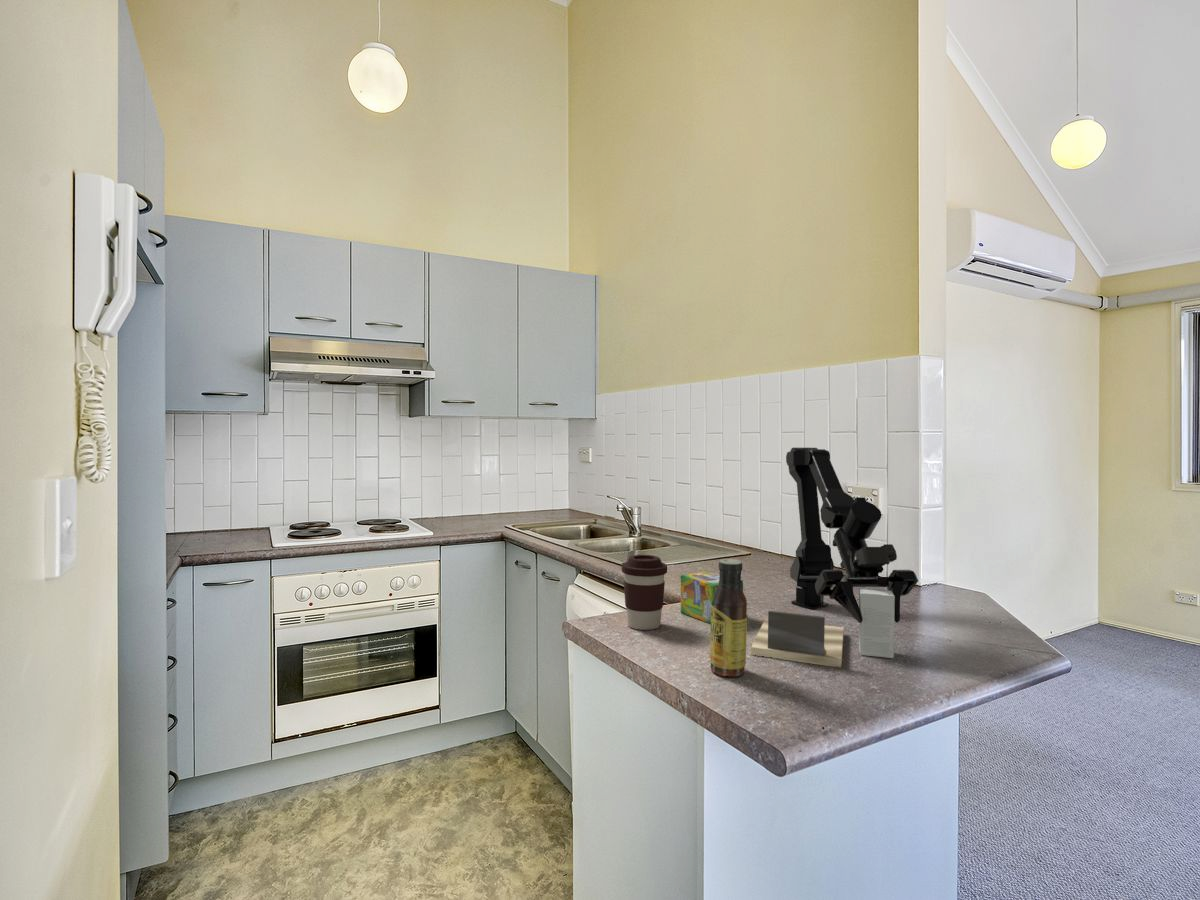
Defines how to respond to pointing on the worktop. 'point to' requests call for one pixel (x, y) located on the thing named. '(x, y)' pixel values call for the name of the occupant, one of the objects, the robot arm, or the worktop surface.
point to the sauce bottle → (728, 622)
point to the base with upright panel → (799, 639)
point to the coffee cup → (644, 591)
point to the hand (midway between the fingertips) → (879, 621)
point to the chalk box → (699, 594)
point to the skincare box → (876, 623)
